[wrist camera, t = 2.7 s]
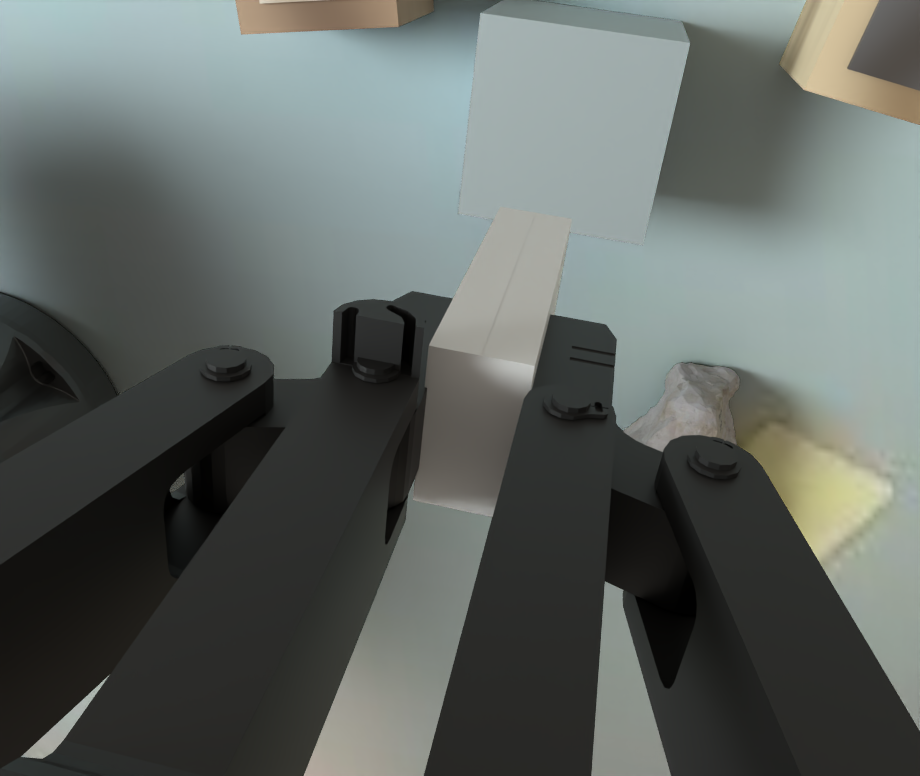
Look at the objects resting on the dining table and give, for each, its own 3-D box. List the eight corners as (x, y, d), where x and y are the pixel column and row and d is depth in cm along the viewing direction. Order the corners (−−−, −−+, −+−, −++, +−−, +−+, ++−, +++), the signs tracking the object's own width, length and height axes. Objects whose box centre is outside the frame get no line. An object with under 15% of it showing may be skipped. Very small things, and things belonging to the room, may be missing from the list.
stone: (602, 338, 41) (597, 397, 36) (773, 365, 40) (792, 429, 35) (572, 499, 45) (563, 571, 40) (723, 526, 44) (733, 603, 39)
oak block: (778, 63, 33) (804, 90, 28) (851, -106, 30) (896, -112, 25) (924, 107, 33) (979, 143, 28) (1013, -58, 30) (1093, -54, 25)
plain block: (487, 166, 37) (457, 213, 31) (508, -4, 34) (480, 12, 28) (643, 192, 37) (643, 245, 31) (681, 20, 33) (690, 42, 27)
